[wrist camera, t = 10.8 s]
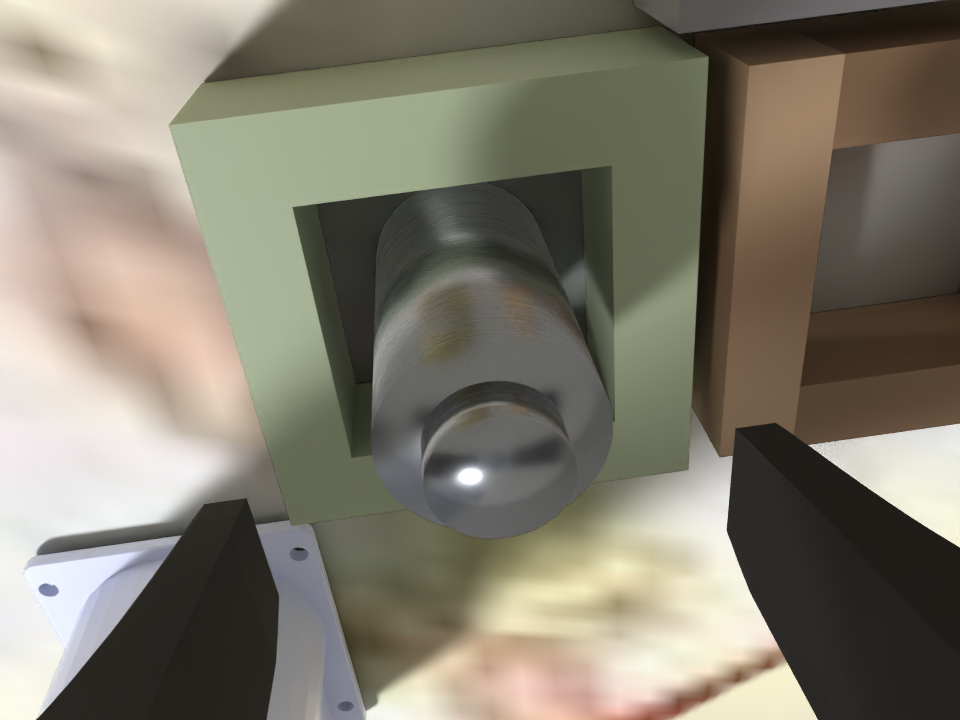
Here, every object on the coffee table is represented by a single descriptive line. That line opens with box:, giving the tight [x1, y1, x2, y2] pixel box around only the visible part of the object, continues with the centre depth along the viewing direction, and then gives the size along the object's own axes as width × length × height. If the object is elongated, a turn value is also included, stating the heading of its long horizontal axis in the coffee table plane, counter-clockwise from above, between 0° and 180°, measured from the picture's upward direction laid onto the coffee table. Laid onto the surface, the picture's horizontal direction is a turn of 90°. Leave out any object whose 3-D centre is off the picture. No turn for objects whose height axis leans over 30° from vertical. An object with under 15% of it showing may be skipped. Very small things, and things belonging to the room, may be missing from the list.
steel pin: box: [371, 182, 613, 539], centre depth 16 cm, size 4×4×8 cm
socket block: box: [691, 1, 960, 457], centre depth 18 cm, size 9×9×3 cm
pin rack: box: [169, 26, 709, 526], centre depth 18 cm, size 10×10×3 cm
